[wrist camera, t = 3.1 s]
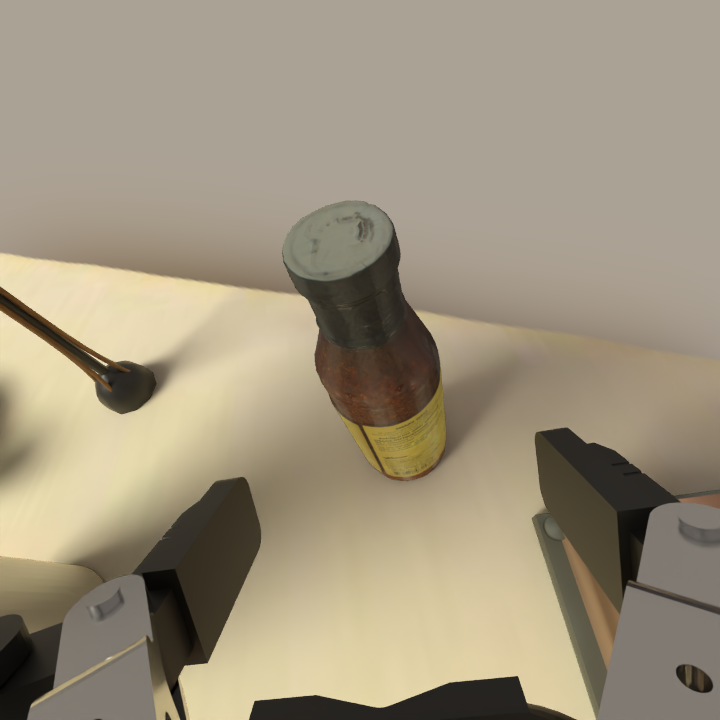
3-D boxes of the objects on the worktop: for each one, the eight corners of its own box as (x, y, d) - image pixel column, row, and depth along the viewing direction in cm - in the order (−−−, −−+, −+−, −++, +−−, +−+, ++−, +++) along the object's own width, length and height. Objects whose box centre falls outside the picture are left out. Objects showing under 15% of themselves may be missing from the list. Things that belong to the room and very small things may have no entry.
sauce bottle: (458, 422, 30) (476, 191, 13) (426, 499, 27) (400, 334, 11) (381, 393, 32) (314, 168, 16) (345, 461, 30) (221, 279, 13)
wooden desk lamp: (173, 380, 37) (-51, 193, 20) (141, 423, 35) (-136, 256, 18) (130, 363, 39) (-105, 182, 22) (98, 403, 37) (-186, 237, 20)
